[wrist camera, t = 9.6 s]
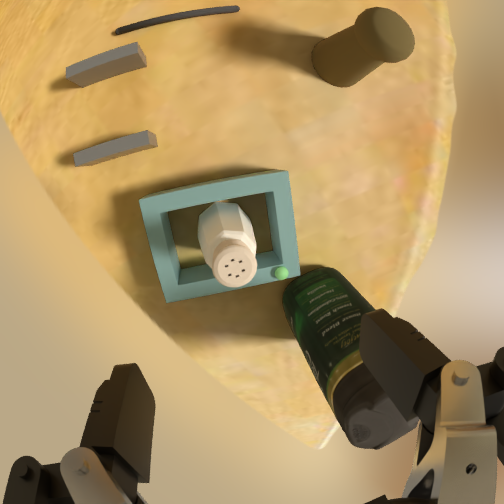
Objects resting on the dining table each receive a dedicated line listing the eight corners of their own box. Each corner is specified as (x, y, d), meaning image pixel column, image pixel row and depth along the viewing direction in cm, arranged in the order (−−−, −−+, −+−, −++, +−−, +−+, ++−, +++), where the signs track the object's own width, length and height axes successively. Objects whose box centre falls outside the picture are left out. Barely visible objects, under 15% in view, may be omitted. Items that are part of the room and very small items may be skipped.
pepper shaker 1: (188, 210, 26) (177, 241, 16) (242, 192, 27) (266, 212, 16) (206, 260, 28) (207, 317, 18) (257, 244, 29) (286, 292, 18)
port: (148, 194, 25) (137, 200, 21) (276, 169, 27) (289, 171, 22) (170, 285, 28) (166, 305, 24) (288, 260, 30) (301, 277, 26)
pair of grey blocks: (82, 77, 20) (65, 67, 16) (145, 56, 21) (137, 41, 17) (92, 165, 23) (75, 166, 20) (157, 146, 24) (149, 144, 20)
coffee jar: (270, 285, 30) (342, 420, 13) (335, 255, 31) (451, 351, 13) (296, 347, 34) (358, 469, 16) (352, 320, 34) (437, 421, 16)
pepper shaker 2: (325, 92, 25) (386, 65, 14) (302, 44, 23) (350, -3, 12) (369, 82, 25) (435, 60, 15) (347, 36, 23) (404, -1, 12)
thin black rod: (116, 36, 19) (114, 33, 19) (116, 30, 19) (114, 28, 18) (239, 12, 21) (240, 9, 20) (238, 7, 20) (239, 4, 20)
